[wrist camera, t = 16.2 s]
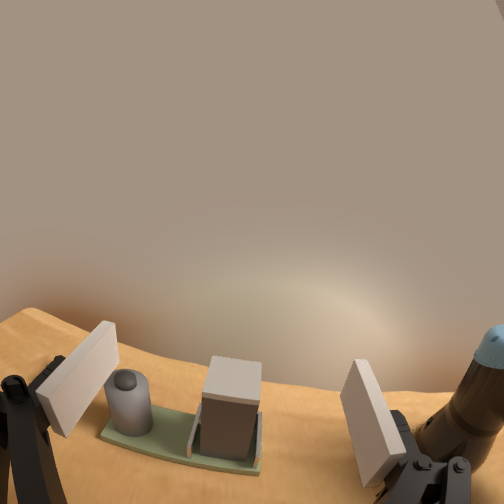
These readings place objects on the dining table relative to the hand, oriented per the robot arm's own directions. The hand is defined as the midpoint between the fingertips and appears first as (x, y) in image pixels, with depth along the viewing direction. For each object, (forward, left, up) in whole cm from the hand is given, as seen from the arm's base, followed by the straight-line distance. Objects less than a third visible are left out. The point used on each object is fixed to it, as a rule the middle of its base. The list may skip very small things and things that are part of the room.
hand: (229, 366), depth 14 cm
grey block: (0, -13, -25) cm, 28 cm away
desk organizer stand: (+6, -13, -26) cm, 30 cm away
